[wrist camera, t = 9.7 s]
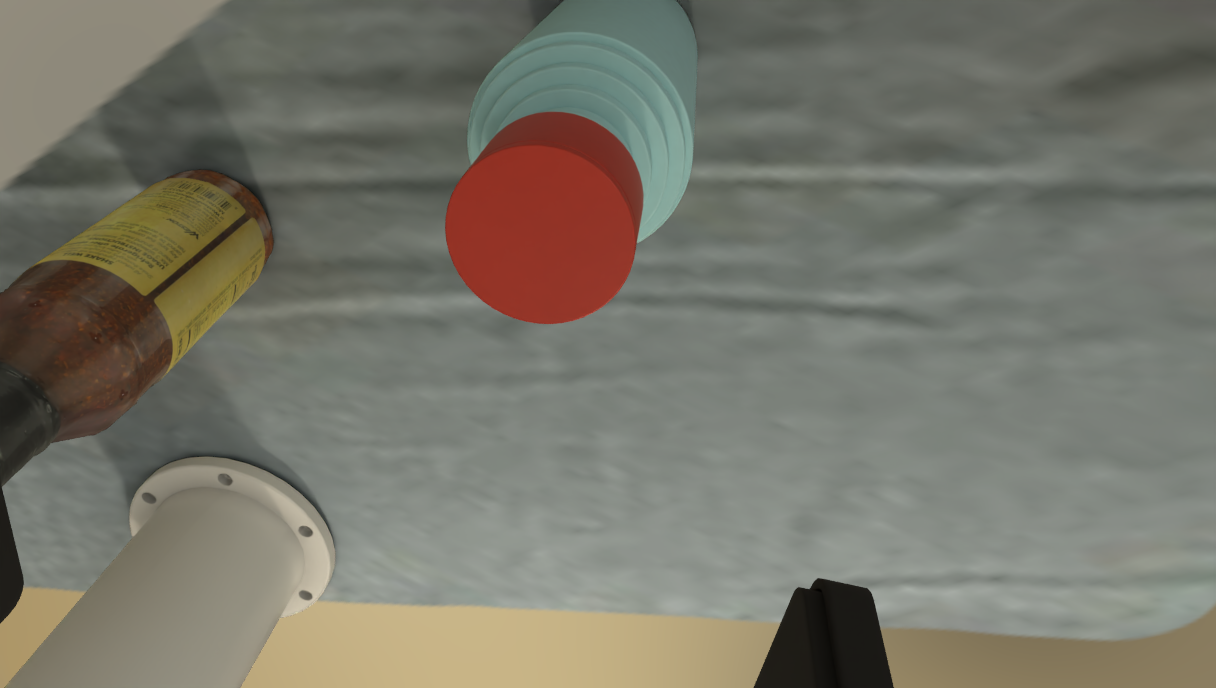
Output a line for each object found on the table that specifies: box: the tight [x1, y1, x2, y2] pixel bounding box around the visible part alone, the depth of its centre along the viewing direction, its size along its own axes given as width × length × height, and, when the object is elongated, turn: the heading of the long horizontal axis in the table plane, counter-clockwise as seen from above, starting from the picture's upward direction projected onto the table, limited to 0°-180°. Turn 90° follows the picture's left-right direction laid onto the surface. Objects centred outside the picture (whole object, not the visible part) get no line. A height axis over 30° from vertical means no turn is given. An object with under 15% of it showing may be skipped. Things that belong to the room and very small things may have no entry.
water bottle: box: [467, 0, 698, 243], centre depth 27 cm, size 7×7×20 cm
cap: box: [445, 112, 644, 324], centre depth 20 cm, size 4×4×3 cm
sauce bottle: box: [0, 169, 274, 487], centre depth 33 cm, size 6×6×20 cm
